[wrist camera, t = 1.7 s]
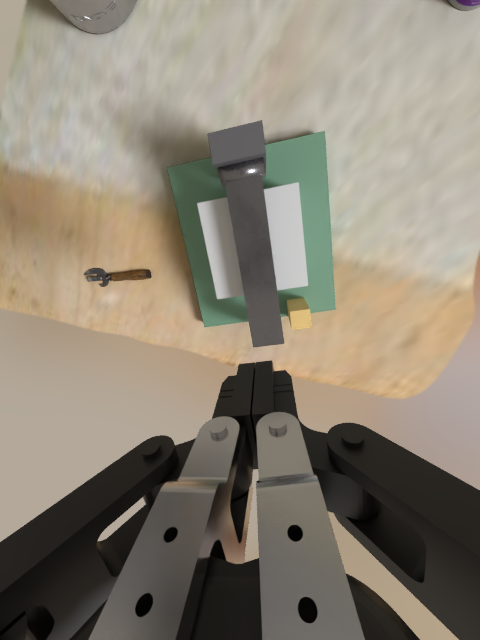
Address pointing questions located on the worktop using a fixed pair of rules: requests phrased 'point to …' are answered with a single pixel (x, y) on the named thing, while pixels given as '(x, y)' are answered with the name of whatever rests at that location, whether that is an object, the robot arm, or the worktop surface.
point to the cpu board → (313, 219)
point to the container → (465, 4)
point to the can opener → (117, 275)
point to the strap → (253, 248)
